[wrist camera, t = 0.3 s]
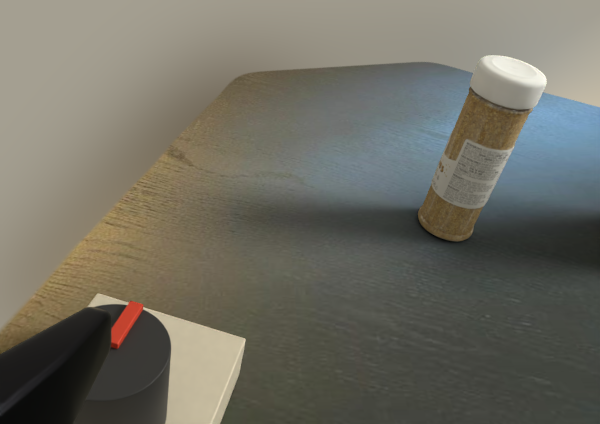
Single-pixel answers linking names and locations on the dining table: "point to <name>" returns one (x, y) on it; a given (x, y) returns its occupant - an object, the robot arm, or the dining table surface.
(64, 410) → the robot arm
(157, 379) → the timer knob
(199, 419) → the timer panel
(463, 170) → the sprinkles bottle
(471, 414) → the dining table surface
